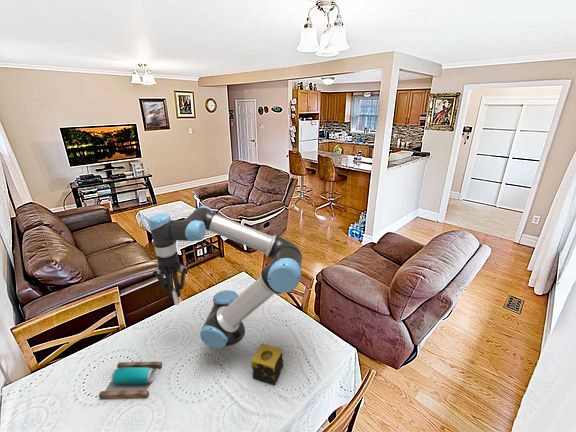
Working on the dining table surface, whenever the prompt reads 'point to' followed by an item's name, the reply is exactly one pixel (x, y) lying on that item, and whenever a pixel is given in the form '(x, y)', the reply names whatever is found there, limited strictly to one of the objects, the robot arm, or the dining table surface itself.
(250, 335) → the dining table surface
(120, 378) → the beverage can
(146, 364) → the rail right
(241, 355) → the dining table surface
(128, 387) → the mat
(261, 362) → the candle
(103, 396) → the rail left
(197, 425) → the dining table surface
